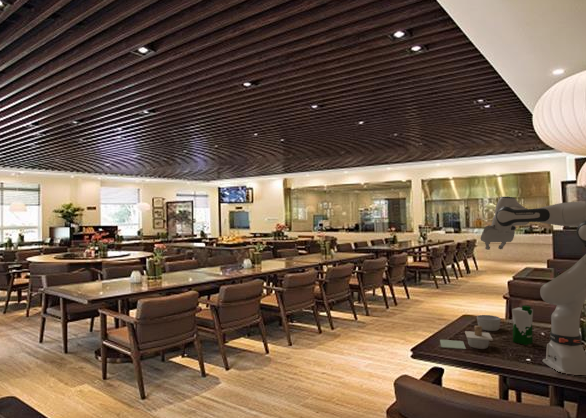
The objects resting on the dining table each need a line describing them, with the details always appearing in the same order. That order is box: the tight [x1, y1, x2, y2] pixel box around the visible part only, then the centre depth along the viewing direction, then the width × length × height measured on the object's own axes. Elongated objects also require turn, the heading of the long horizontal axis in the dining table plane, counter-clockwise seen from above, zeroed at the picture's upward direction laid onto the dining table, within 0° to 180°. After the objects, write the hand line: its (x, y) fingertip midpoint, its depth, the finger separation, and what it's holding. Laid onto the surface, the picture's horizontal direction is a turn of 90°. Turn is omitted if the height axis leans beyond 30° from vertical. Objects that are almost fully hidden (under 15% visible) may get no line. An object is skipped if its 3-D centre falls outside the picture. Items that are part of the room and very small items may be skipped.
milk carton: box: [511, 305, 534, 346], centre depth 229 cm, size 9×9×20 cm
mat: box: [439, 339, 467, 350], centre depth 225 cm, size 13×12×1 cm
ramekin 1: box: [467, 339, 490, 350], centre depth 223 cm, size 11×11×5 cm
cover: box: [464, 325, 494, 342], centre depth 223 cm, size 12×12×5 cm
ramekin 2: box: [476, 314, 502, 332], centre depth 256 cm, size 13×13×7 cm
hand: (493, 249), depth 230 cm, fingers open, 8 cm apart
